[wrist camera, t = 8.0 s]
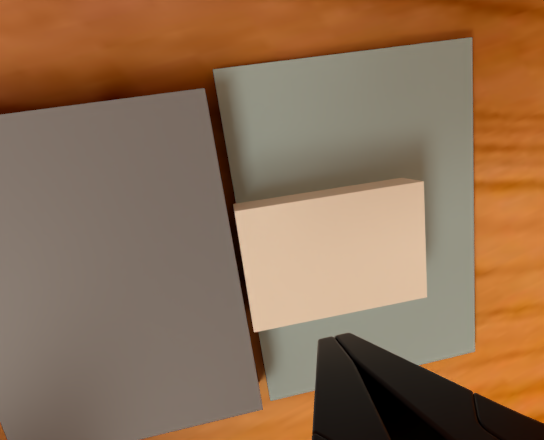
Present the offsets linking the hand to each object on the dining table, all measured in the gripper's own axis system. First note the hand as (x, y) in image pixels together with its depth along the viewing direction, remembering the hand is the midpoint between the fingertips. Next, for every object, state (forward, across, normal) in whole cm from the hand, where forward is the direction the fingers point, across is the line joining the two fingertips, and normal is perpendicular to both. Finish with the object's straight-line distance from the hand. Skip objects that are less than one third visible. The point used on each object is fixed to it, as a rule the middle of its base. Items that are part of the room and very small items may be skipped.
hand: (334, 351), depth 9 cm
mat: (+10, -5, 0) cm, 11 cm away
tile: (+8, -3, 0) cm, 9 cm away
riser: (+10, +8, 0) cm, 13 cm away
